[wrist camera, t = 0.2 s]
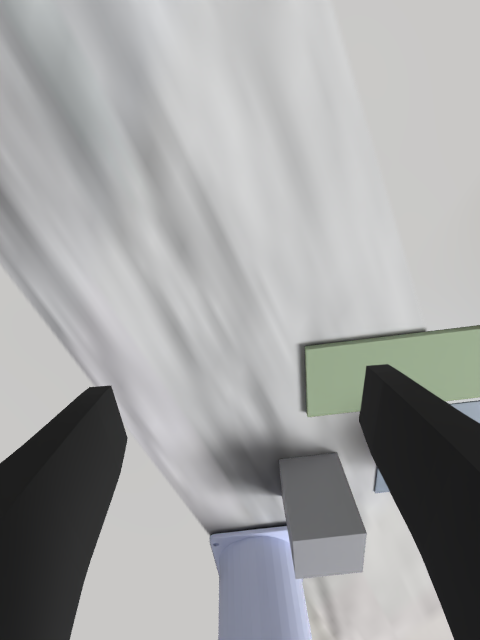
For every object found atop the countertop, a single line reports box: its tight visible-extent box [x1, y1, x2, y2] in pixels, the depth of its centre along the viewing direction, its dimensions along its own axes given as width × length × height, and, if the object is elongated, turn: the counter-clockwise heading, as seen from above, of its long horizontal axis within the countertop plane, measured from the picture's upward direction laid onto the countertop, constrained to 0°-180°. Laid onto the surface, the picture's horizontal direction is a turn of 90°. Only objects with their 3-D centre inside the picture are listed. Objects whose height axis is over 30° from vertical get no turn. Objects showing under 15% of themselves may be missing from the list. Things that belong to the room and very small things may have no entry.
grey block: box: [279, 453, 367, 579], centre depth 24 cm, size 4×4×6 cm
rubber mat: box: [305, 325, 480, 417], centre depth 22 cm, size 6×12×1 cm, turn 97°
